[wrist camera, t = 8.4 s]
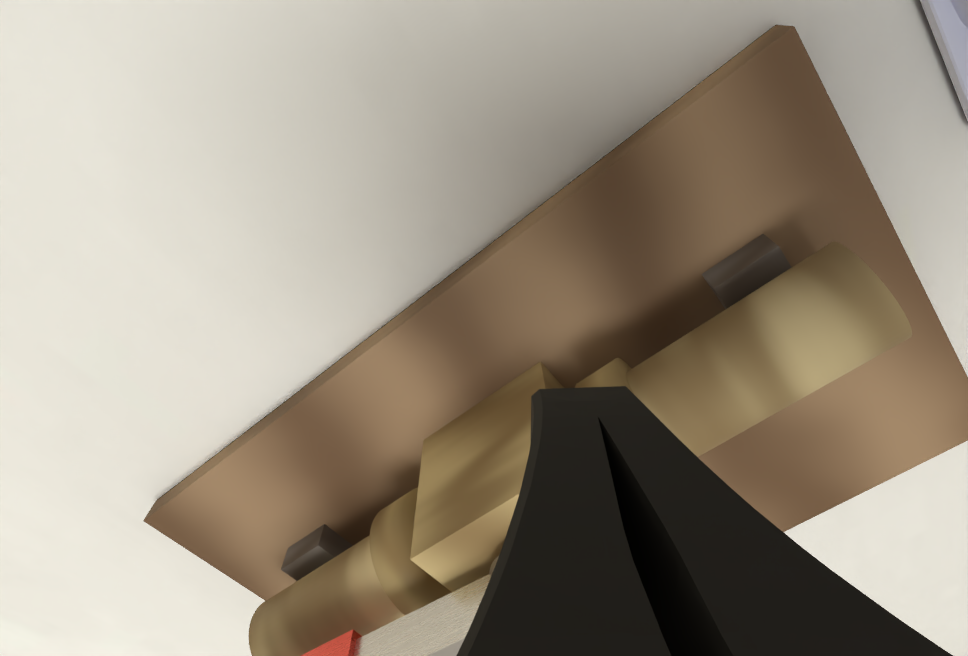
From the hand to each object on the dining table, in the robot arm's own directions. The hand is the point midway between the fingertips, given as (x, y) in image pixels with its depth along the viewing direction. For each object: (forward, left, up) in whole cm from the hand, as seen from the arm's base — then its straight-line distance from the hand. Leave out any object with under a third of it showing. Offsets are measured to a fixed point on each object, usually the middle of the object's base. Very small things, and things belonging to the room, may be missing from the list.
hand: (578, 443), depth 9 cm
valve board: (+5, +8, -10) cm, 14 cm away
